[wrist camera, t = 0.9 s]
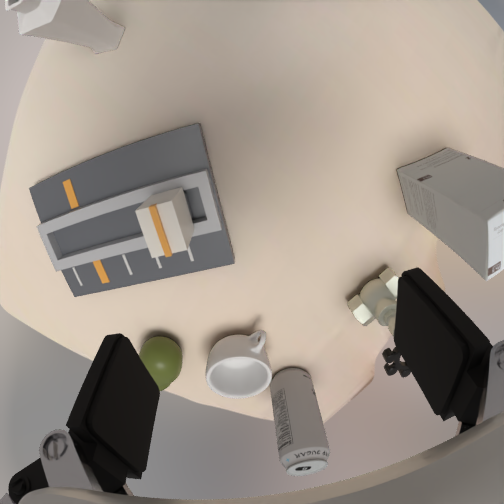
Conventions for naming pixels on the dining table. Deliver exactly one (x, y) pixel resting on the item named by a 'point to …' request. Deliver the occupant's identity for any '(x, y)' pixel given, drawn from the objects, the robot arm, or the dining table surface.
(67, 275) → the console
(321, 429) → the energy drink can
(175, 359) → the pear
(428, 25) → the dining table surface
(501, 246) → the skincare box
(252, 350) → the teacup
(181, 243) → the fader
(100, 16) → the perfume bottle
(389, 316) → the valve
